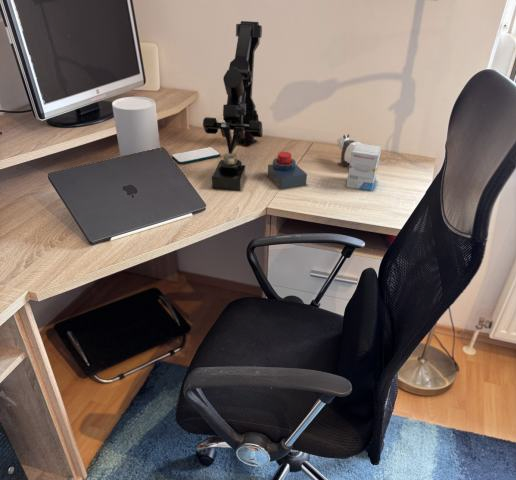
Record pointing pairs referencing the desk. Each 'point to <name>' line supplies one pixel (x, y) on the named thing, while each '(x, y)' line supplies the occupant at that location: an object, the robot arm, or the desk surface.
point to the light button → (230, 159)
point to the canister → (136, 124)
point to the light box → (228, 176)
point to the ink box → (363, 166)
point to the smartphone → (195, 155)
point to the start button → (284, 158)
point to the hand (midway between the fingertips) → (230, 153)
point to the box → (286, 175)
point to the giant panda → (346, 149)
